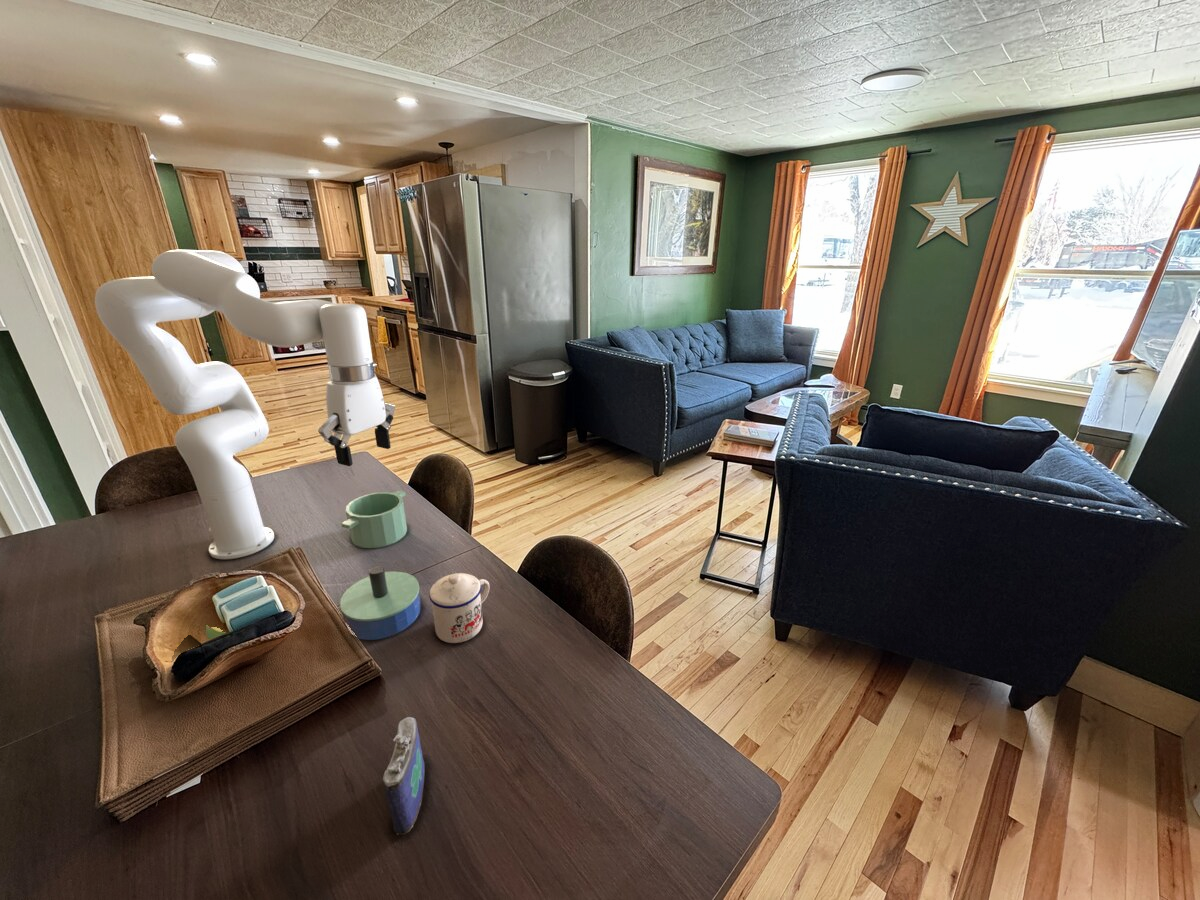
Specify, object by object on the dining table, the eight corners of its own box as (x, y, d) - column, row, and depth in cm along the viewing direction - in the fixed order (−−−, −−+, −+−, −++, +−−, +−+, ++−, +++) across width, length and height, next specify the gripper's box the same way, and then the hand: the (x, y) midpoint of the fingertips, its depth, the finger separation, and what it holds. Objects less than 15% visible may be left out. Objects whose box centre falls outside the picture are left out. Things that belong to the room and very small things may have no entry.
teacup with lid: (454, 653, 83) (448, 600, 79) (424, 629, 88) (416, 578, 84) (505, 615, 92) (502, 566, 88) (475, 596, 97) (470, 548, 93)
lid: (323, 612, 87) (316, 582, 84) (380, 569, 99) (375, 542, 96) (383, 632, 82) (377, 602, 80) (434, 585, 94) (431, 558, 92)
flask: (407, 762, 65) (397, 706, 61) (429, 759, 66) (421, 704, 62) (390, 837, 57) (376, 779, 53) (415, 834, 57) (404, 775, 53)
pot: (330, 547, 112) (323, 516, 109) (386, 512, 128) (382, 484, 125) (372, 559, 108) (366, 527, 105) (424, 521, 124) (421, 493, 121)
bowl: (329, 628, 88) (324, 608, 87) (382, 585, 100) (379, 567, 98) (385, 648, 84) (382, 628, 82) (434, 601, 96) (432, 583, 94)
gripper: (373, 361, 97) (383, 438, 104) (295, 379, 83) (313, 468, 89) (401, 366, 95) (410, 444, 102) (327, 385, 80) (343, 476, 87)
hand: (365, 455), depth 95 cm, fingers open, 9 cm apart
